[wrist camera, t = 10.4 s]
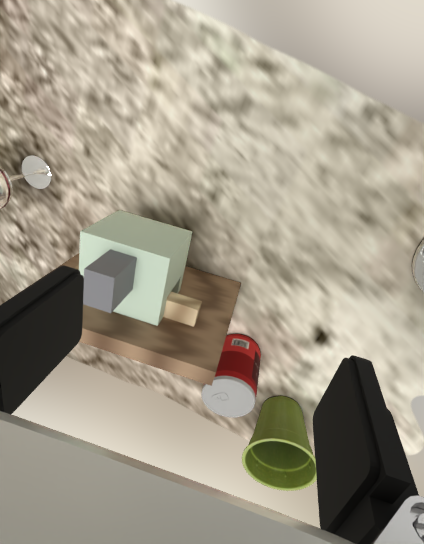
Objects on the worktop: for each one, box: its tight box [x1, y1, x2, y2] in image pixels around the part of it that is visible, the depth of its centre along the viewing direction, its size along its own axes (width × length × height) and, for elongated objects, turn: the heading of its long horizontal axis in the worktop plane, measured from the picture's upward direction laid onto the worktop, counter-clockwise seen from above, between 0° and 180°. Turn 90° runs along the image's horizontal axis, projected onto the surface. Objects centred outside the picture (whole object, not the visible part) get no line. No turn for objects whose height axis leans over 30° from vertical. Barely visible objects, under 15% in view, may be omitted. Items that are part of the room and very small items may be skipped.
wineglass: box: [0, 156, 51, 209], centre depth 45 cm, size 7×7×12 cm
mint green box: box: [79, 210, 192, 326], centre depth 38 cm, size 10×9×14 cm
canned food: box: [202, 334, 261, 417], centre depth 52 cm, size 8×8×11 cm
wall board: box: [18, 254, 241, 386], centre depth 44 cm, size 24×10×20 cm, turn 77°
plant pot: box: [242, 396, 317, 491], centre depth 56 cm, size 12×12×11 cm
